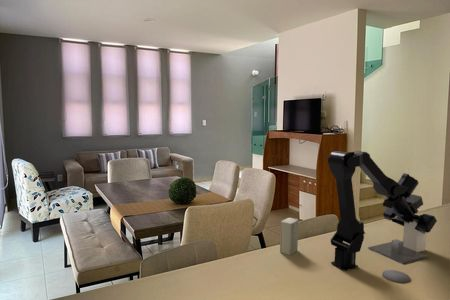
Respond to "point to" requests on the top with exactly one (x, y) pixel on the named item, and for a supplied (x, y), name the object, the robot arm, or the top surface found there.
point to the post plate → (397, 252)
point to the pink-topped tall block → (414, 237)
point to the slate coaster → (396, 276)
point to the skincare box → (289, 236)
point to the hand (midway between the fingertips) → (417, 230)
